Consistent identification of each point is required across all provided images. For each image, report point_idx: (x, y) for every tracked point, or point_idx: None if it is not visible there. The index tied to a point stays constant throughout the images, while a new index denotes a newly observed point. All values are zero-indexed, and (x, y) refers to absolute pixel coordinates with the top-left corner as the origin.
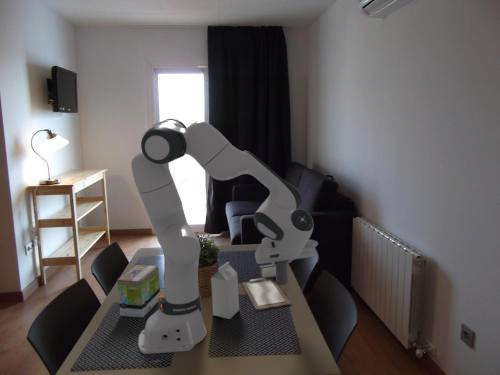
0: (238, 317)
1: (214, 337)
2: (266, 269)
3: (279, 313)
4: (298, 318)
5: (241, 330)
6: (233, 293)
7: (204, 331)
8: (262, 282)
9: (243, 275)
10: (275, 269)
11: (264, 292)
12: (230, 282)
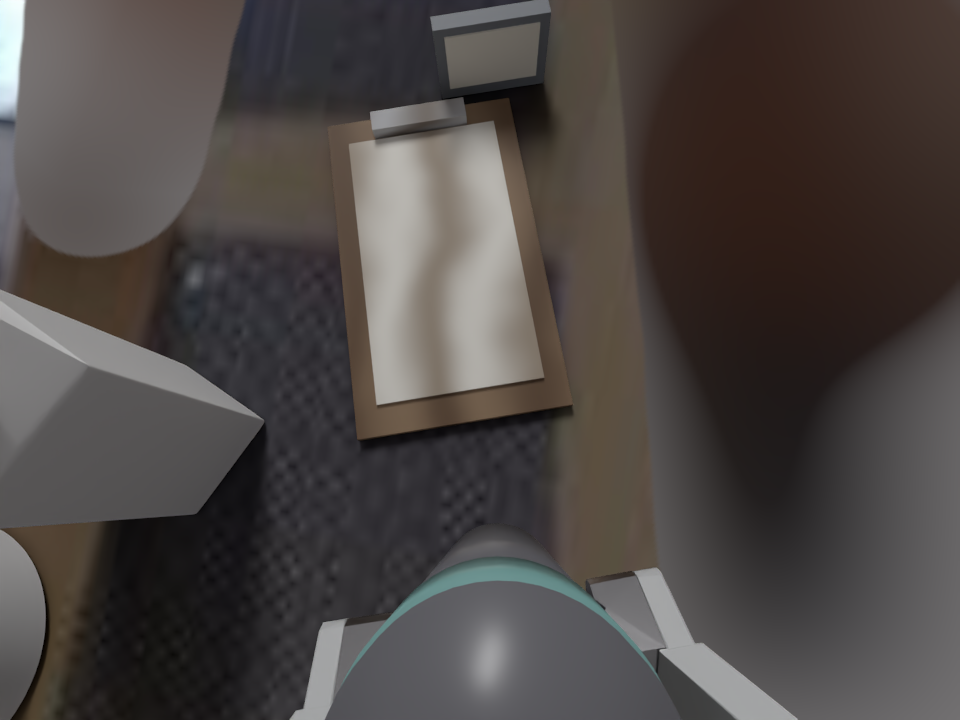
0: (249, 498)
1: (81, 699)
2: (475, 44)
3: (487, 492)
4: (589, 570)
5: (241, 648)
6: (142, 459)
7: (5, 684)
8: (443, 140)
9: (355, 38)
10: (533, 42)
11: (436, 256)
12: (25, 485)
